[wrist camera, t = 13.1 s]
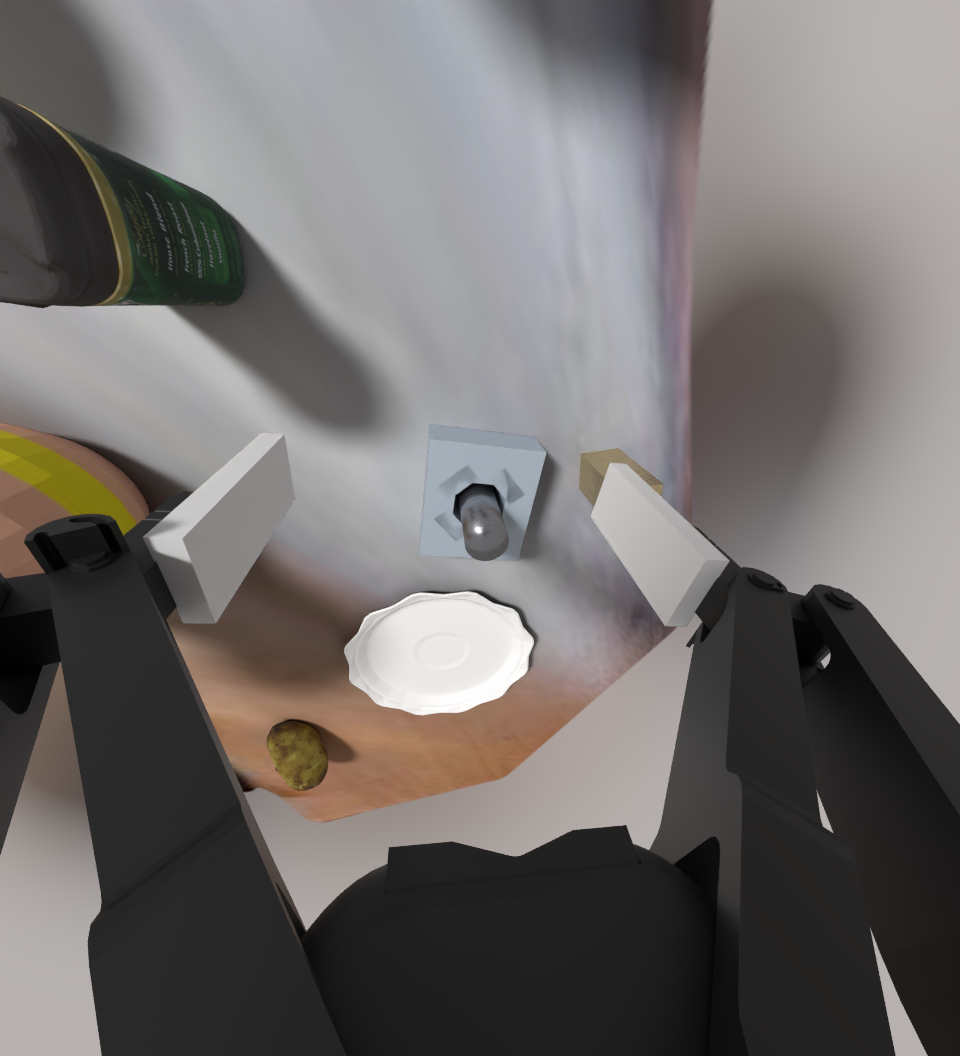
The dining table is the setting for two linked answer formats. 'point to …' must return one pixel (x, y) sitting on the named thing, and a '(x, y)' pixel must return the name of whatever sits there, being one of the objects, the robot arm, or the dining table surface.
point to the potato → (297, 754)
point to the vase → (55, 491)
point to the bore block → (483, 461)
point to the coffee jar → (104, 226)
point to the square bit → (596, 469)
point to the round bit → (482, 522)
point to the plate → (438, 652)
